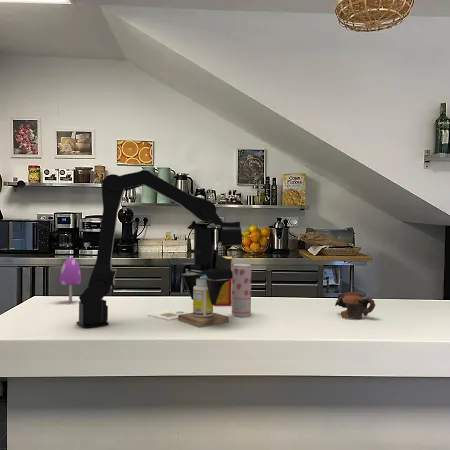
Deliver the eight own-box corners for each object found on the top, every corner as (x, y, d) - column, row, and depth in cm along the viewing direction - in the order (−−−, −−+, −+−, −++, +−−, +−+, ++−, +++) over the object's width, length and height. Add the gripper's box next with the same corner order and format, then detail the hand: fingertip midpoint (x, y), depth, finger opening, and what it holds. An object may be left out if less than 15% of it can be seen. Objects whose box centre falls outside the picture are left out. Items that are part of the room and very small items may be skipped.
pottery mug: (331, 319, 125) (329, 293, 129) (343, 328, 131) (342, 303, 135) (372, 314, 118) (369, 286, 123) (383, 323, 125) (380, 297, 129)
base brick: (199, 327, 111) (199, 321, 111) (178, 320, 119) (178, 314, 119) (228, 322, 118) (228, 316, 118) (206, 315, 125) (207, 310, 125)
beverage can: (229, 315, 125) (229, 265, 125) (235, 312, 131) (235, 263, 131) (247, 317, 123) (248, 265, 123) (253, 313, 129) (253, 264, 129)
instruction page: (168, 320, 119) (168, 319, 119) (148, 315, 125) (148, 314, 125) (198, 313, 128) (198, 312, 128) (178, 309, 134) (178, 308, 134)
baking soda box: (213, 300, 150) (213, 255, 150) (231, 300, 150) (232, 255, 150) (211, 305, 141) (211, 257, 141) (230, 306, 141) (231, 257, 141)
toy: (76, 304, 140) (77, 259, 140) (56, 304, 140) (56, 258, 140) (83, 301, 146) (84, 257, 146) (64, 300, 146) (64, 257, 146)
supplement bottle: (212, 313, 121) (212, 277, 121) (213, 317, 116) (214, 280, 116) (192, 313, 121) (193, 277, 121) (193, 318, 115) (193, 280, 115)
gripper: (248, 246, 116) (247, 304, 116) (207, 243, 131) (206, 294, 131) (216, 247, 109) (215, 308, 109) (176, 244, 124) (175, 298, 124)
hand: (203, 302), depth 118 cm, fingers open, 9 cm apart
